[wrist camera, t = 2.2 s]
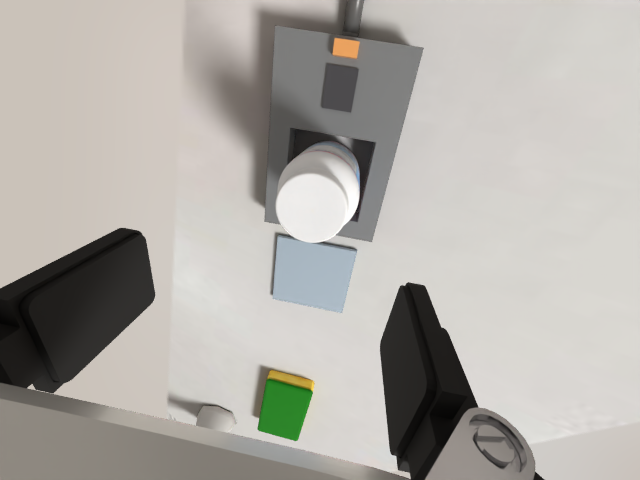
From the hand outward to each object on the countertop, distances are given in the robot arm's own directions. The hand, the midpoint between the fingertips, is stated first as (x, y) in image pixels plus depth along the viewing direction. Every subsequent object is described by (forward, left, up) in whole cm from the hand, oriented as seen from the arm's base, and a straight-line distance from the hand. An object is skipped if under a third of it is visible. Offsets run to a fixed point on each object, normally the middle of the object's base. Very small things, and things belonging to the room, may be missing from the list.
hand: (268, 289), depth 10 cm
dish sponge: (+38, -1, -20) cm, 43 cm away
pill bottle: (0, 0, -19) cm, 19 cm away
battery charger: (-6, 0, -19) cm, 20 cm away
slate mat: (+12, 0, -19) cm, 23 cm away
